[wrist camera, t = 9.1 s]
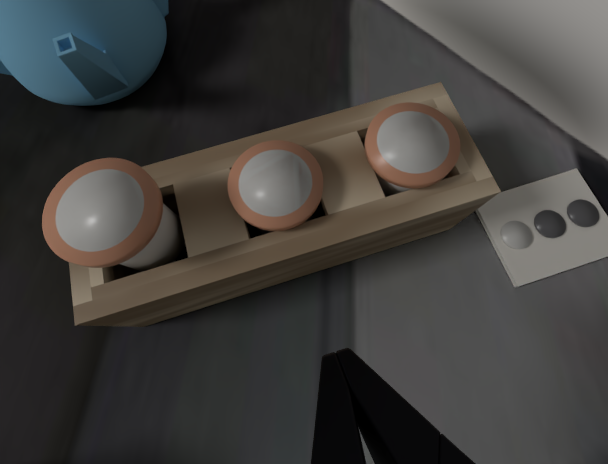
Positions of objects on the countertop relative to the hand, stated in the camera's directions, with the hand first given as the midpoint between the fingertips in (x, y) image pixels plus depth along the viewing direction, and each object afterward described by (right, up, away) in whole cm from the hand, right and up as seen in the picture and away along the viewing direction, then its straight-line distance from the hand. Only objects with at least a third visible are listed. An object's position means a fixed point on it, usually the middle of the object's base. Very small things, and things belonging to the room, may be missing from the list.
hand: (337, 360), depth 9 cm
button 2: (-10, +3, +10) cm, 14 cm away
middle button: (-2, +5, +12) cm, 14 cm away
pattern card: (+18, +4, +15) cm, 24 cm away
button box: (-2, +4, +16) cm, 16 cm away
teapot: (-20, +21, +21) cm, 36 cm away
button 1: (+5, +7, +13) cm, 16 cm away
